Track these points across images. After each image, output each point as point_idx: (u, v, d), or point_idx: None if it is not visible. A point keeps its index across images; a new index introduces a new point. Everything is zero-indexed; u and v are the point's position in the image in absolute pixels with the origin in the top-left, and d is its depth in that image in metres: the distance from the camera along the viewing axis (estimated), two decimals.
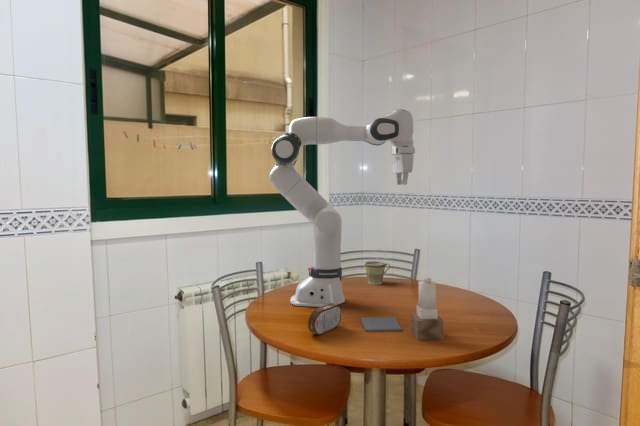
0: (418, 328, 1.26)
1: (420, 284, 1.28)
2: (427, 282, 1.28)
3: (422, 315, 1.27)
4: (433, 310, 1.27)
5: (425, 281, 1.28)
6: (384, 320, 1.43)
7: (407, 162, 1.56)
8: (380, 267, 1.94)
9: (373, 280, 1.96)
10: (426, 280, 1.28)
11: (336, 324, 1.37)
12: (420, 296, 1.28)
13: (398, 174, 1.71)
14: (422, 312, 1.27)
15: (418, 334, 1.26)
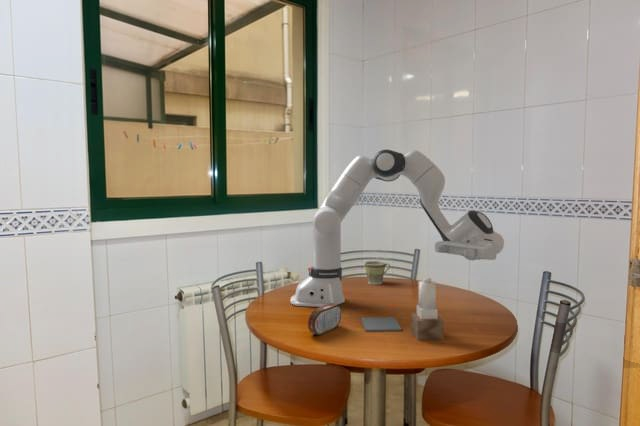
0: (418, 328, 1.26)
1: (420, 284, 1.28)
2: (427, 282, 1.28)
3: (422, 315, 1.27)
4: (433, 310, 1.27)
5: (425, 281, 1.28)
6: (384, 320, 1.43)
7: (491, 252, 1.33)
8: (380, 267, 1.94)
9: (373, 280, 1.96)
10: (426, 280, 1.28)
11: (336, 324, 1.37)
12: (420, 296, 1.28)
13: (444, 247, 1.42)
14: (422, 312, 1.27)
15: (418, 334, 1.26)
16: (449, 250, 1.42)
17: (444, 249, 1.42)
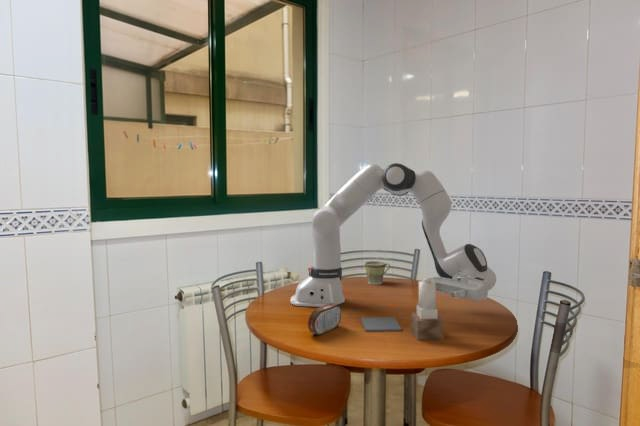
0: (418, 328, 1.26)
1: (420, 284, 1.28)
2: (427, 282, 1.28)
3: (422, 315, 1.27)
4: (433, 310, 1.27)
5: (425, 281, 1.28)
6: (384, 320, 1.43)
7: (482, 293, 1.31)
8: (380, 267, 1.94)
9: (373, 280, 1.96)
10: (426, 280, 1.28)
11: (336, 324, 1.37)
12: (420, 296, 1.28)
13: None
14: (422, 312, 1.27)
15: (418, 334, 1.26)
16: (440, 288, 1.40)
17: None
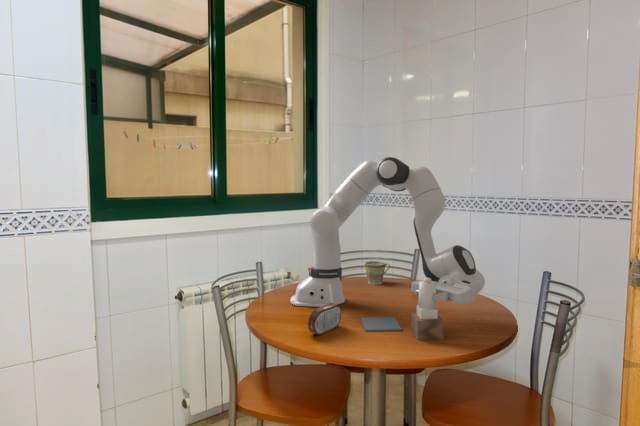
0: (418, 328, 1.26)
1: (420, 284, 1.28)
2: (427, 282, 1.28)
3: (422, 315, 1.27)
4: (433, 310, 1.27)
5: (425, 281, 1.28)
6: (384, 320, 1.43)
7: (468, 296, 1.26)
8: (380, 267, 1.94)
9: (373, 280, 1.96)
10: (426, 280, 1.28)
11: (336, 324, 1.37)
12: (420, 296, 1.28)
13: None
14: (422, 312, 1.27)
15: (418, 334, 1.26)
16: None
17: None
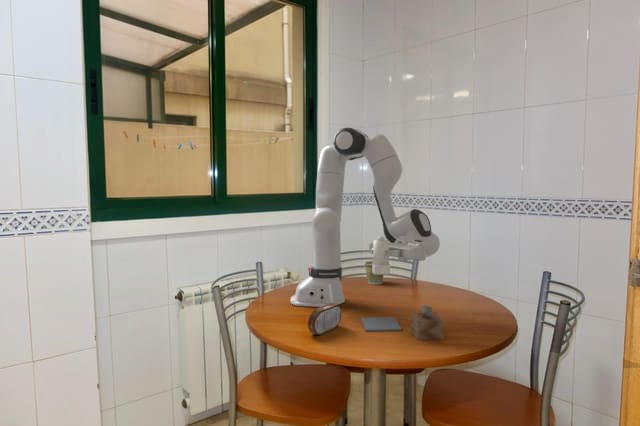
0: (418, 328, 1.26)
1: (374, 242, 1.37)
2: (380, 240, 1.36)
3: (376, 270, 1.36)
4: (386, 266, 1.36)
5: (379, 239, 1.37)
6: (384, 320, 1.43)
7: (418, 253, 1.35)
8: None
9: (373, 280, 1.96)
10: (379, 238, 1.37)
11: (336, 324, 1.37)
12: (374, 253, 1.37)
13: None
14: (376, 267, 1.36)
15: (418, 334, 1.26)
16: None
17: None
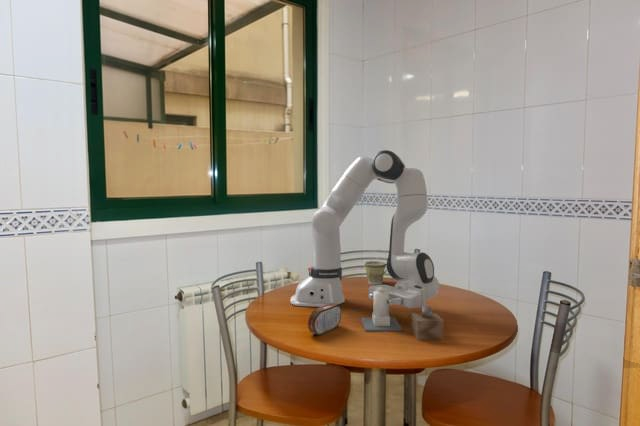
0: (418, 328, 1.26)
1: (374, 293, 1.38)
2: (380, 291, 1.37)
3: (376, 322, 1.37)
4: (386, 317, 1.37)
5: (379, 290, 1.38)
6: None
7: (418, 301, 1.36)
8: (380, 267, 1.94)
9: (373, 280, 1.96)
10: (380, 289, 1.38)
11: (336, 324, 1.37)
12: (374, 304, 1.38)
13: None
14: (376, 319, 1.37)
15: (418, 334, 1.26)
16: None
17: None
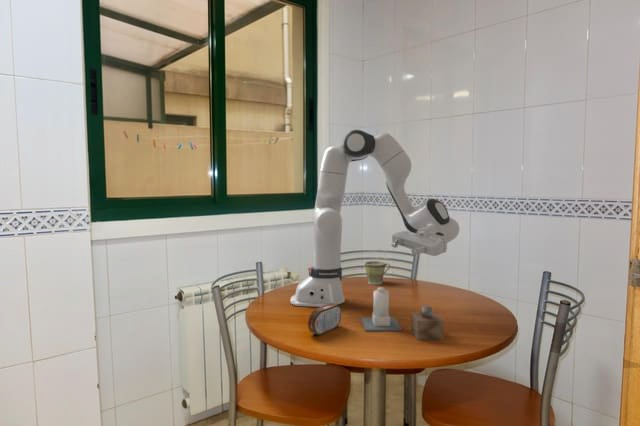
0: (418, 328, 1.26)
1: (374, 293, 1.38)
2: (380, 291, 1.37)
3: (376, 322, 1.37)
4: (386, 317, 1.37)
5: (379, 290, 1.38)
6: None
7: (440, 248, 1.43)
8: (380, 267, 1.94)
9: (373, 280, 1.96)
10: (380, 289, 1.38)
11: (336, 324, 1.37)
12: (374, 304, 1.38)
13: (399, 241, 1.52)
14: (376, 319, 1.37)
15: (418, 334, 1.26)
16: (404, 243, 1.52)
17: (399, 242, 1.52)
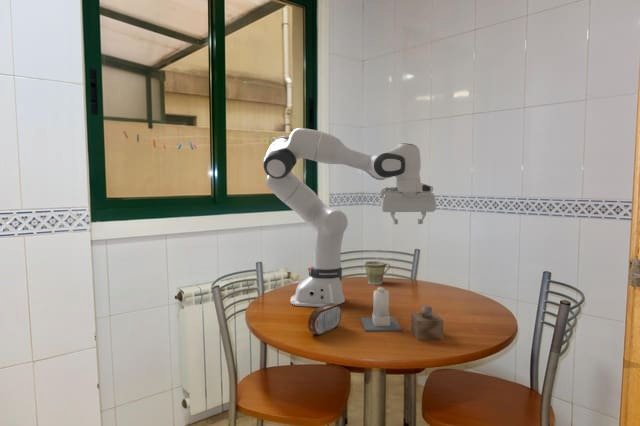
0: (418, 328, 1.26)
1: (374, 293, 1.38)
2: (380, 291, 1.37)
3: (376, 322, 1.37)
4: (386, 317, 1.37)
5: (379, 290, 1.38)
6: None
7: None
8: (380, 267, 1.94)
9: (373, 280, 1.96)
10: (380, 289, 1.38)
11: (336, 324, 1.37)
12: (374, 304, 1.38)
13: None
14: (376, 319, 1.37)
15: (418, 334, 1.26)
16: None
17: None
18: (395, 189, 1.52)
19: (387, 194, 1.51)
